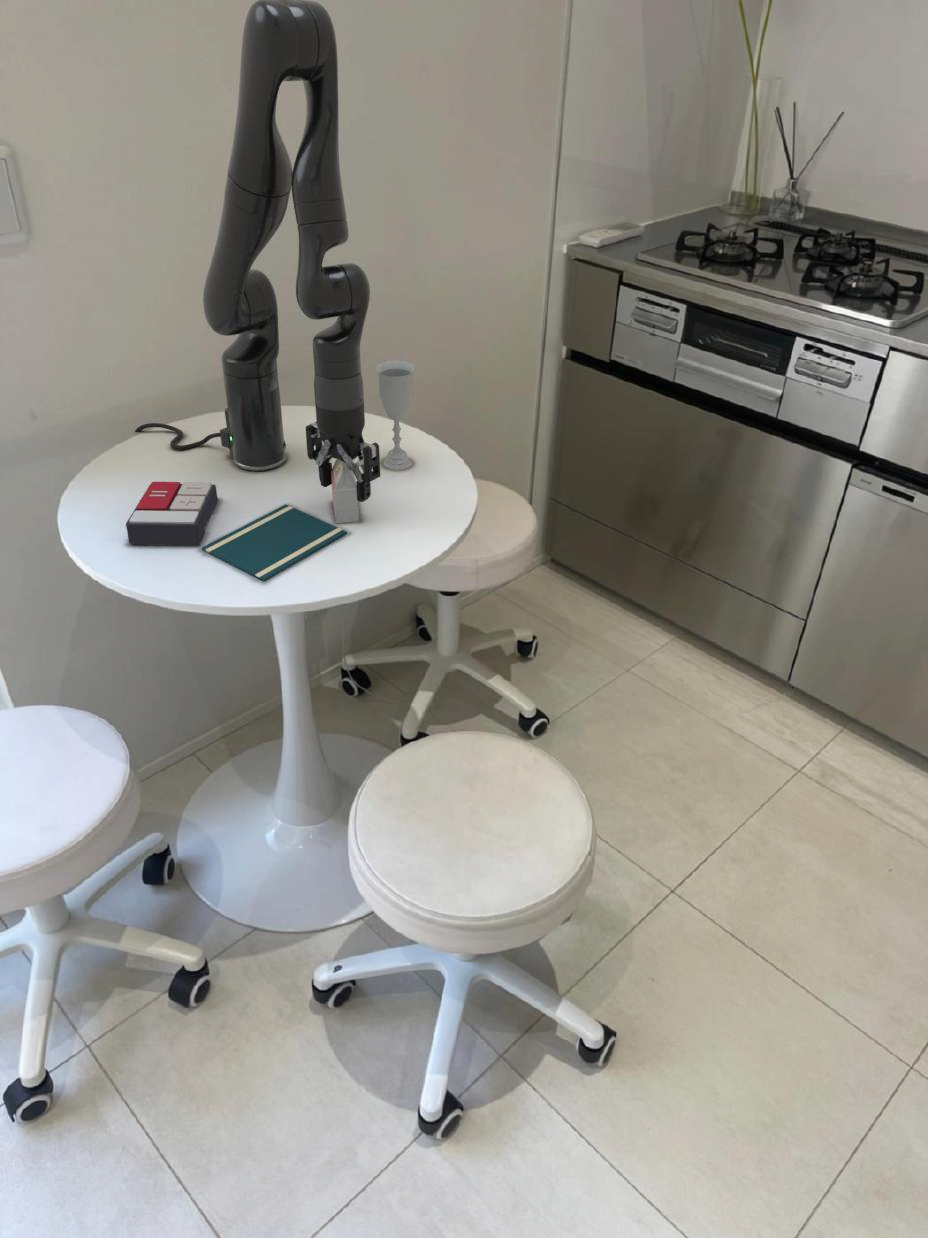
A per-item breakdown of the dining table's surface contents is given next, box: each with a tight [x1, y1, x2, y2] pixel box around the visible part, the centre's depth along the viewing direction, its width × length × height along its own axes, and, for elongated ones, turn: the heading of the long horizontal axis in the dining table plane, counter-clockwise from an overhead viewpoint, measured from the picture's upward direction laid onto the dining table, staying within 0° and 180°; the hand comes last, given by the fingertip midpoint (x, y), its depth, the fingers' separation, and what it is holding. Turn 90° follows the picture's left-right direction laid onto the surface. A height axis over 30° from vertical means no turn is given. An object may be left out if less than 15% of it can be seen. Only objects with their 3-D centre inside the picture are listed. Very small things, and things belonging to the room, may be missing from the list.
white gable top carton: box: [331, 459, 360, 524], centre depth 157 cm, size 4×7×10 cm, turn 11°
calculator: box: [125, 481, 219, 546], centre depth 155 cm, size 11×4×15 cm
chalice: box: [375, 360, 416, 471], centre depth 169 cm, size 7×7×18 cm
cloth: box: [201, 504, 348, 582], centre depth 151 cm, size 14×18×1 cm
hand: (344, 492), depth 157 cm, fingers closed on white gable top carton, 7 cm apart
